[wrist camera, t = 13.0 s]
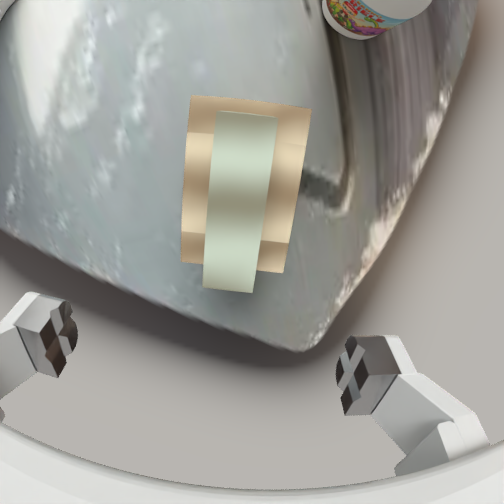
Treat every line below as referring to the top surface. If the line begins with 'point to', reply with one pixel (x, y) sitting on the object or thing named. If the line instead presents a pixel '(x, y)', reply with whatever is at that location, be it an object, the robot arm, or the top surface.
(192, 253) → the wooden square frame
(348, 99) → the top surface
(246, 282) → the rail end
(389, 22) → the milk bottle
